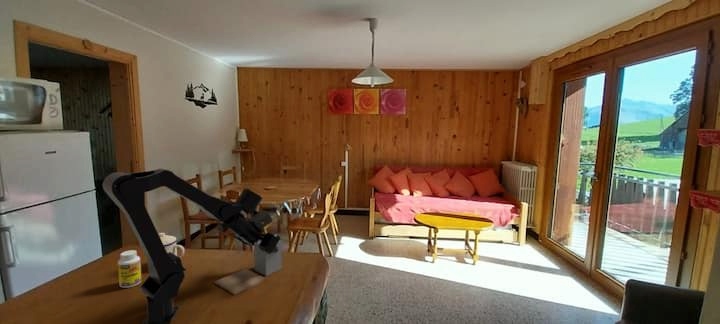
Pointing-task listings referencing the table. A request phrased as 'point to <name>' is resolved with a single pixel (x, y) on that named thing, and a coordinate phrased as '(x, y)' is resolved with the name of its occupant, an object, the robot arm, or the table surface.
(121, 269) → the supplement bottle
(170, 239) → the teacup with lid
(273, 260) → the sharp-edged grey box
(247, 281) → the light tan board
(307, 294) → the table surface
